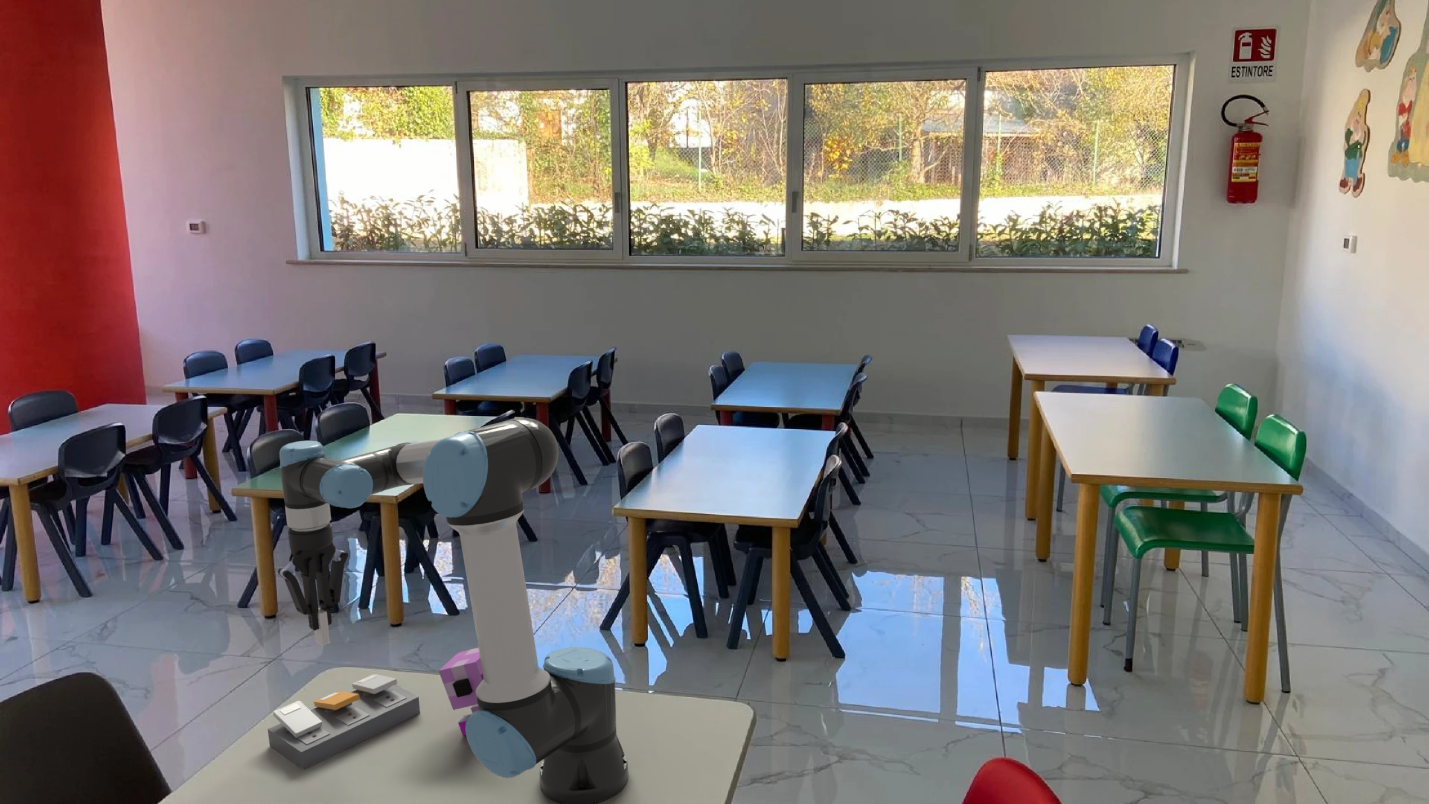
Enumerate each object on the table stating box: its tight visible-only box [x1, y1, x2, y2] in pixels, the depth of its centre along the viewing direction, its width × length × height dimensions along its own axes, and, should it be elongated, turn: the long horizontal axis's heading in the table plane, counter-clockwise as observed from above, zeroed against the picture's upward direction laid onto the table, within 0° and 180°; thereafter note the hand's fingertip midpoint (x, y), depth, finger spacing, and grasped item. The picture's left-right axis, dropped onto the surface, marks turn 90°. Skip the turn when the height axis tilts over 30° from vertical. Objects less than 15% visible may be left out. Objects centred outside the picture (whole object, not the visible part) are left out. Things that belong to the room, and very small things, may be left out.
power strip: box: [267, 684, 421, 771], centre depth 185 cm, size 12×24×4 cm, turn 141°
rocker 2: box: [313, 690, 360, 710], centre depth 186 cm, size 8×5×1 cm, turn 50°
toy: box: [438, 647, 484, 736], centre depth 185 cm, size 11×8×15 cm
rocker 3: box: [351, 673, 398, 694], centre depth 192 cm, size 8×5×1 cm, turn 50°
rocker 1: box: [273, 699, 322, 738], centre depth 180 cm, size 8×5×1 cm, turn 51°
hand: (322, 642), depth 186 cm, fingers closed
